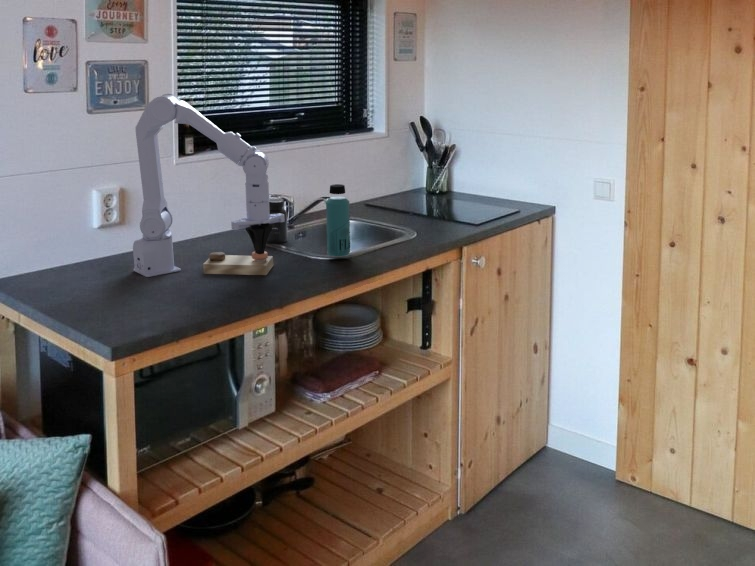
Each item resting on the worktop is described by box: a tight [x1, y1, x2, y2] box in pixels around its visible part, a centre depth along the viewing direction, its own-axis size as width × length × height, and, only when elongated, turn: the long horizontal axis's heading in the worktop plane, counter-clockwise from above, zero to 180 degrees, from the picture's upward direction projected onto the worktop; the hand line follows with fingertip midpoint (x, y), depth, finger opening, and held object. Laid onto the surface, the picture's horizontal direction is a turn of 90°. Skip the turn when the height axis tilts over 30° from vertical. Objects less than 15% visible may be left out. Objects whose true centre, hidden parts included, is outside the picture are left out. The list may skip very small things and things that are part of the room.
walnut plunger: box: [208, 251, 226, 261], centre depth 219 cm, size 4×4×4 cm
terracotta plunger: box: [251, 251, 269, 262], centre depth 218 cm, size 4×4×4 cm
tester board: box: [202, 254, 274, 276], centre depth 218 cm, size 16×9×2 cm, turn 85°
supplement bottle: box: [266, 198, 288, 244], centre depth 246 cm, size 7×7×12 cm
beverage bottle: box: [325, 184, 351, 257], centre depth 226 cm, size 6×7×20 cm
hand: (259, 253), depth 217 cm, fingers closed, pressing on terracotta plunger
